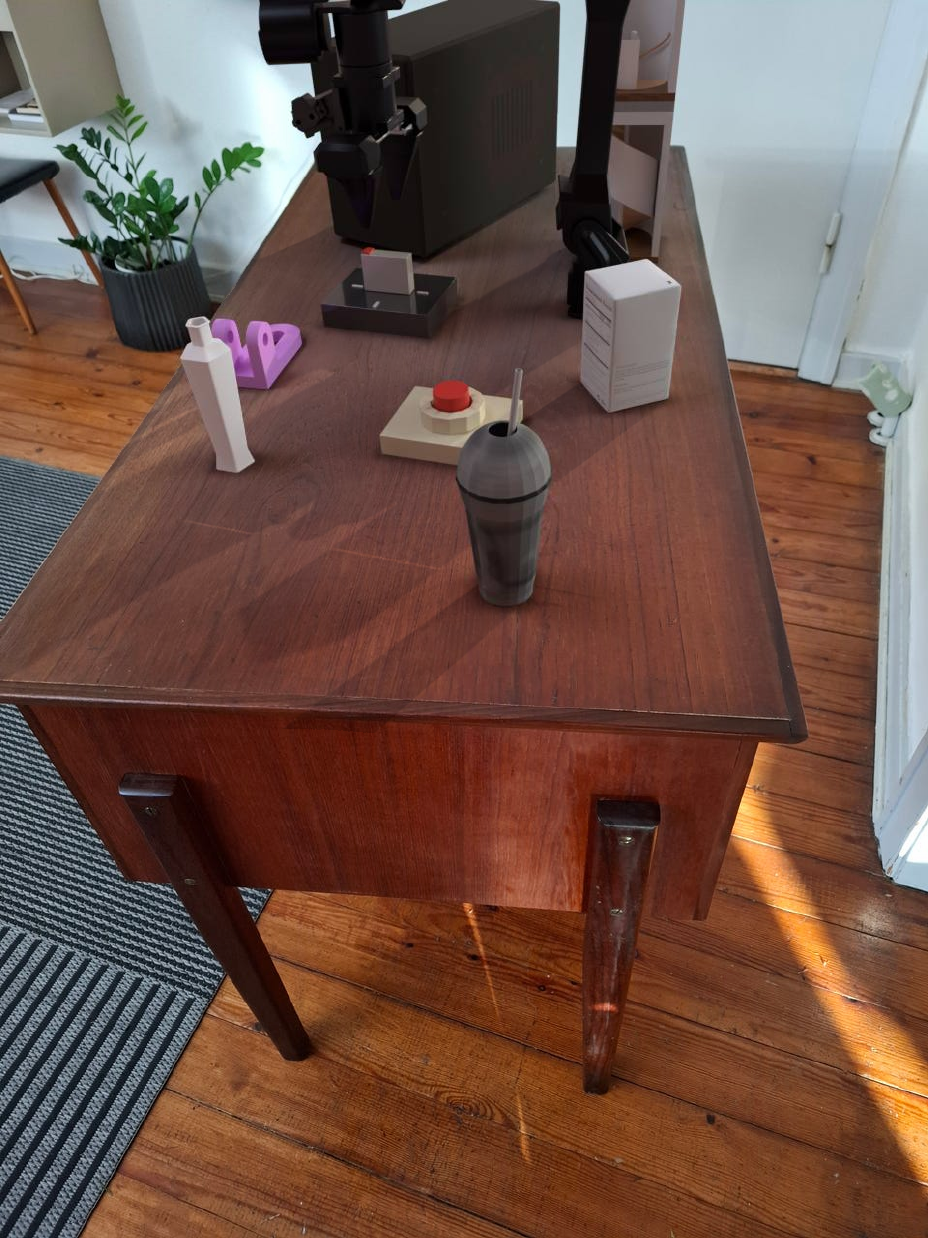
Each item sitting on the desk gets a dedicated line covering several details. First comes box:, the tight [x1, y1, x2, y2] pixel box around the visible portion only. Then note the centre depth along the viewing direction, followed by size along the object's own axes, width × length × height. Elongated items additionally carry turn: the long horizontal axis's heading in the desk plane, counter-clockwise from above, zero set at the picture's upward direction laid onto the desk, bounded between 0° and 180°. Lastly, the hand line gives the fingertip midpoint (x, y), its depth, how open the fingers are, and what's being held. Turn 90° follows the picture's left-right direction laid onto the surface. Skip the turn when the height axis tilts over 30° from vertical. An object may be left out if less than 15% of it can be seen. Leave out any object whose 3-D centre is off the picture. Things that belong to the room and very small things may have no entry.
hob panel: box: [320, 267, 459, 339], centre depth 112 cm, size 14×11×3 cm
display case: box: [608, 0, 686, 267], centre depth 111 cm, size 11×11×35 cm
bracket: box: [210, 318, 303, 390], centre depth 104 cm, size 13×6×7 cm, turn 167°
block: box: [379, 385, 524, 466], centre depth 91 cm, size 12×10×4 cm
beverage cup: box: [455, 368, 553, 607], centre depth 68 cm, size 7×7×20 cm
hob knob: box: [360, 247, 414, 295], centre depth 110 cm, size 6×2×5 cm, turn 71°
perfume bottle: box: [179, 316, 256, 474], centre depth 85 cm, size 5×4×15 cm
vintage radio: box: [309, 0, 561, 258], centre depth 129 cm, size 38×20×25 cm, turn 144°
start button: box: [432, 380, 469, 413], centre depth 89 cm, size 4×4×2 cm
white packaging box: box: [579, 259, 682, 414], centre depth 93 cm, size 7×7×13 cm
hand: (381, 213), depth 105 cm, fingers open, 9 cm apart
